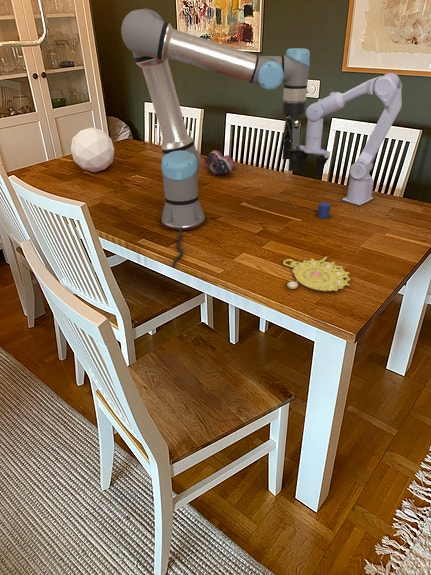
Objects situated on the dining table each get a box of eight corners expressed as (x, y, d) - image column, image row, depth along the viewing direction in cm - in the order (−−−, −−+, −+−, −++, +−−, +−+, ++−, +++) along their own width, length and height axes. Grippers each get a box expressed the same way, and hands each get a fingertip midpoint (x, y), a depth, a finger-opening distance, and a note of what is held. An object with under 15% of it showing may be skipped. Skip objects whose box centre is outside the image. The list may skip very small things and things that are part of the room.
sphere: (101, 187, 208) (88, 161, 190) (70, 166, 213) (54, 139, 194) (127, 159, 213) (117, 131, 194) (96, 140, 218) (83, 111, 199)
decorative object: (332, 298, 110) (265, 270, 120) (331, 306, 111) (265, 278, 122) (367, 265, 123) (304, 242, 133) (365, 272, 125) (303, 249, 135)
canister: (315, 214, 158) (317, 203, 156) (325, 213, 159) (326, 201, 157) (321, 219, 155) (322, 207, 153) (331, 217, 156) (332, 205, 154)
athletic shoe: (215, 150, 209) (192, 156, 205) (235, 143, 189) (210, 149, 185) (221, 174, 212) (199, 180, 208) (241, 169, 192) (217, 176, 188)
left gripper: (313, 108, 136) (306, 175, 148) (298, 94, 157) (293, 154, 169) (289, 108, 136) (283, 176, 148) (277, 95, 157) (274, 154, 169)
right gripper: (291, 135, 168) (289, 171, 175) (323, 142, 159) (319, 179, 166) (303, 132, 172) (300, 166, 179) (335, 138, 163) (330, 174, 170)
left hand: (289, 164), depth 158 cm, fingers open, 13 cm apart
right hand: (310, 172), depth 173 cm, fingers open, 7 cm apart
